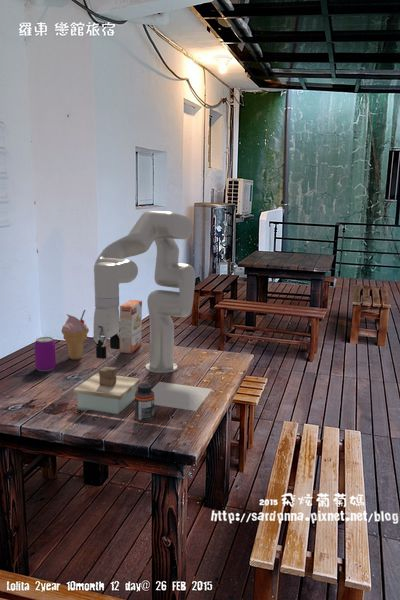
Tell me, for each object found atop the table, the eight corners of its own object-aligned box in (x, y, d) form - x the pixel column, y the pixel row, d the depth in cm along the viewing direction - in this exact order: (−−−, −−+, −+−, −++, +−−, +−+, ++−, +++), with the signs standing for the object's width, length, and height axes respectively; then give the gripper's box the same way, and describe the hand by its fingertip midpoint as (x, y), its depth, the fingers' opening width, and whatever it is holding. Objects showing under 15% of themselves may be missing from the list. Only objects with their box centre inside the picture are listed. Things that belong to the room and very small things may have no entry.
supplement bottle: (135, 415, 165) (135, 381, 162) (154, 415, 165) (154, 381, 163) (134, 424, 159) (134, 388, 156) (154, 423, 159) (154, 388, 157)
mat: (159, 383, 192) (159, 381, 192) (212, 390, 187) (212, 389, 187) (138, 403, 174) (138, 402, 173) (195, 412, 168) (195, 410, 168)
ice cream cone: (75, 352, 226) (74, 306, 221) (94, 356, 220) (94, 310, 216) (56, 358, 216) (55, 311, 212) (76, 363, 211) (75, 315, 207)
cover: (97, 376, 181) (97, 359, 180) (140, 382, 176) (140, 364, 175) (73, 392, 166) (73, 374, 165) (120, 399, 161) (119, 380, 160)
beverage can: (52, 372, 201) (51, 342, 198) (32, 371, 201) (31, 341, 198) (58, 365, 208) (57, 336, 206) (39, 365, 208) (38, 336, 206)
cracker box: (132, 354, 225) (132, 306, 221) (119, 352, 227) (118, 305, 222) (142, 345, 239) (142, 300, 235) (129, 343, 240) (129, 299, 236)
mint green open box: (98, 394, 181) (98, 377, 180) (136, 399, 177) (136, 382, 176) (78, 409, 168) (77, 392, 166) (118, 416, 164) (118, 398, 163)
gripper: (108, 295, 174) (109, 344, 178) (82, 307, 158) (84, 360, 162) (129, 296, 172) (130, 346, 176) (105, 309, 156) (106, 363, 160)
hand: (108, 353), depth 169 cm, fingers open, 9 cm apart
